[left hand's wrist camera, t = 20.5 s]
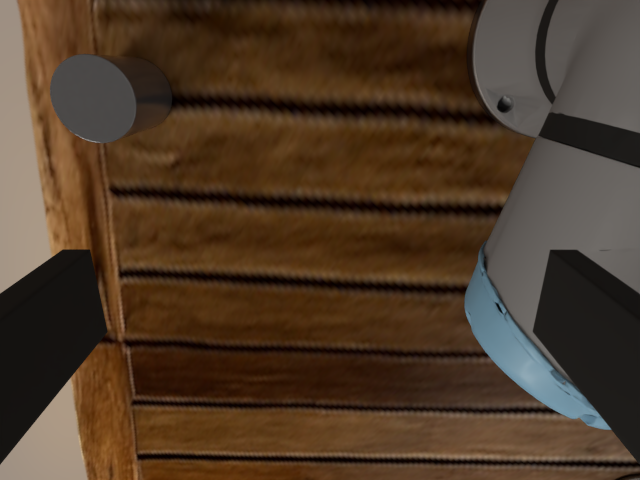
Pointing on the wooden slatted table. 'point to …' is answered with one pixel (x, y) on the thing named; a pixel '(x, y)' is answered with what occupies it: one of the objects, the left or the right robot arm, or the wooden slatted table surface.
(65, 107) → the dark grey cylinder
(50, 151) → the wooden slatted table surface
